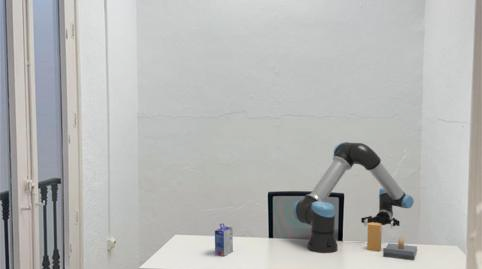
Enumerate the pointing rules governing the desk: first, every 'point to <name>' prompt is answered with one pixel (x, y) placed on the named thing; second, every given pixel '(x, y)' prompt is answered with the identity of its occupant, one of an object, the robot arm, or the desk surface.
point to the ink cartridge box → (223, 240)
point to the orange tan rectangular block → (374, 236)
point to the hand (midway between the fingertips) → (378, 224)
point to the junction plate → (400, 250)
